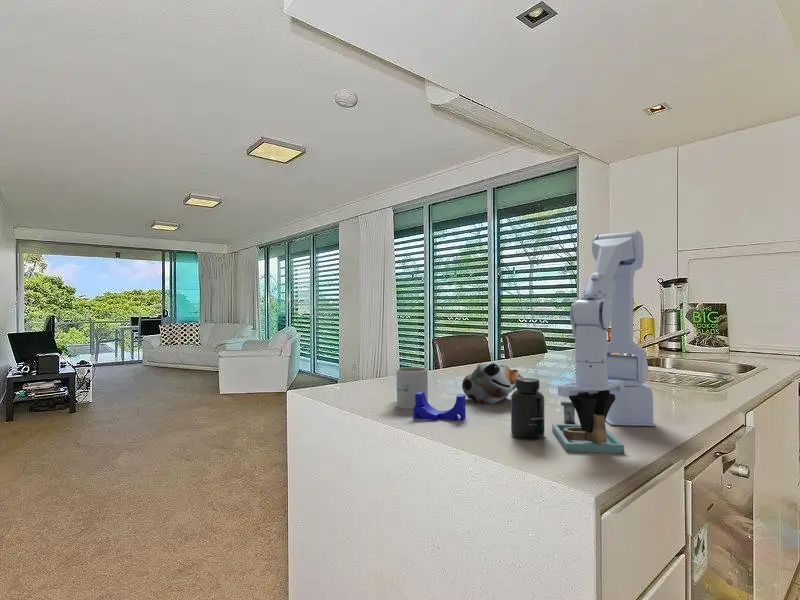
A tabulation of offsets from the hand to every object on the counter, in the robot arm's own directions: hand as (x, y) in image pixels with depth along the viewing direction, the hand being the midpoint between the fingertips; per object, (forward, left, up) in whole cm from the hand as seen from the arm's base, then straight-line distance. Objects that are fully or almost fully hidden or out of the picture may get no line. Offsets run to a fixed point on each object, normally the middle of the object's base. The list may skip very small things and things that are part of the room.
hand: (592, 430), depth 87 cm
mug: (+40, -34, -3) cm, 52 cm away
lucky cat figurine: (+17, -40, -3) cm, 44 cm away
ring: (+1, -2, -2) cm, 3 cm away
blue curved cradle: (+31, -19, -4) cm, 36 cm away
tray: (0, -4, -3) cm, 5 cm away
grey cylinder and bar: (0, -18, -3) cm, 18 cm away
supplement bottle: (+11, -6, -3) cm, 13 cm away
